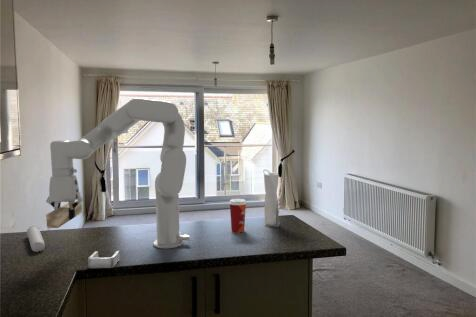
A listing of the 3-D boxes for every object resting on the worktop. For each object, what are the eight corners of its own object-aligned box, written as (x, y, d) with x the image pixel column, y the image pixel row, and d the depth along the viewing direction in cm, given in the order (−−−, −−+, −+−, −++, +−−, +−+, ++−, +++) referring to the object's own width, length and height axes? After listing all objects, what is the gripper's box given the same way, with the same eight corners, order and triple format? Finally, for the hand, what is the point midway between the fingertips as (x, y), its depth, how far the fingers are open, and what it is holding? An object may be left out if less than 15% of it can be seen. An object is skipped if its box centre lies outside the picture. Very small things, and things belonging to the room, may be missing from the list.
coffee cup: (246, 233, 175) (246, 202, 174) (228, 233, 176) (228, 202, 174) (246, 228, 184) (246, 198, 182) (229, 228, 184) (229, 198, 182)
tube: (47, 242, 153) (41, 226, 174) (33, 240, 150) (28, 224, 171) (43, 255, 152) (37, 238, 173) (29, 253, 149) (25, 236, 170)
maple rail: (82, 212, 158) (81, 200, 158) (58, 227, 136) (57, 214, 136) (72, 212, 158) (71, 200, 158) (46, 228, 136) (46, 214, 136)
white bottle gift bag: (262, 226, 188) (262, 170, 185) (263, 221, 195) (263, 168, 192) (279, 227, 186) (279, 170, 183) (279, 222, 194) (280, 168, 191)
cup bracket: (119, 260, 143) (119, 251, 143) (113, 267, 136) (113, 258, 135) (95, 260, 143) (95, 251, 143) (88, 268, 136) (87, 258, 135)
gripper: (88, 170, 149) (90, 215, 151) (45, 171, 149) (48, 216, 151) (80, 173, 142) (83, 221, 144) (35, 174, 142) (39, 221, 144)
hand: (65, 218), depth 147 cm, fingers closed on maple rail, 4 cm apart
